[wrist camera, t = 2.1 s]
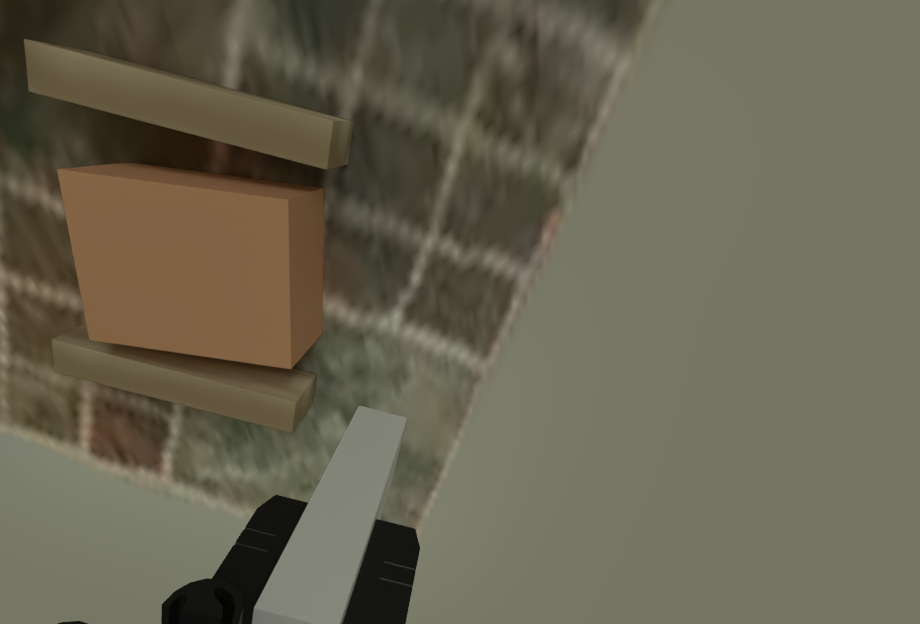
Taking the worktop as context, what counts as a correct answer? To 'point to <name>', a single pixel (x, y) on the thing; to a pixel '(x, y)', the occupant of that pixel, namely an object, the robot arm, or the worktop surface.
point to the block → (197, 261)
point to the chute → (214, 117)
